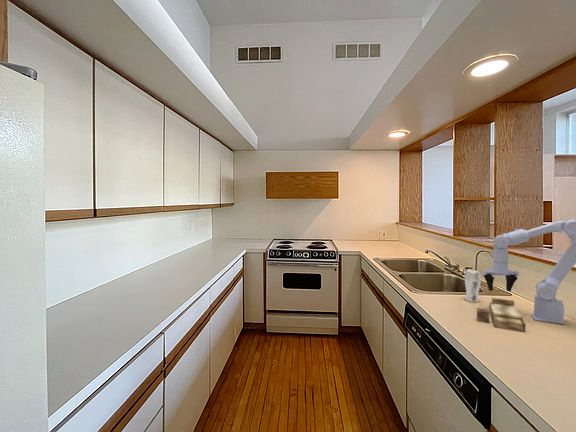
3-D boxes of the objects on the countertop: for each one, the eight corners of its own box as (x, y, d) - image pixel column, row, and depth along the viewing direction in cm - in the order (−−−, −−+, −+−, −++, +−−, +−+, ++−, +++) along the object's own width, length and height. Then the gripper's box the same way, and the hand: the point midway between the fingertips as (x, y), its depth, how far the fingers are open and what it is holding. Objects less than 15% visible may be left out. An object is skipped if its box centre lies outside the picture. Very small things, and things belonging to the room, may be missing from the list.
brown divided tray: (515, 314, 136) (516, 308, 136) (525, 331, 118) (525, 324, 118) (489, 311, 141) (489, 304, 141) (494, 326, 123) (494, 319, 123)
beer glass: (464, 301, 154) (465, 272, 154) (463, 297, 161) (464, 269, 160) (480, 303, 151) (481, 273, 150) (479, 299, 157) (480, 270, 157)
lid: (515, 307, 136) (515, 300, 136) (522, 319, 123) (522, 311, 122) (489, 304, 141) (489, 297, 140) (493, 315, 127) (493, 307, 127)
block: (487, 319, 131) (488, 309, 131) (488, 323, 127) (489, 312, 127) (476, 318, 133) (477, 307, 132) (477, 321, 129) (477, 310, 129)
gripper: (487, 262, 137) (486, 292, 138) (523, 263, 135) (522, 293, 136) (480, 259, 144) (479, 288, 145) (513, 260, 142) (512, 289, 143)
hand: (499, 290), depth 141 cm, fingers open, 7 cm apart
